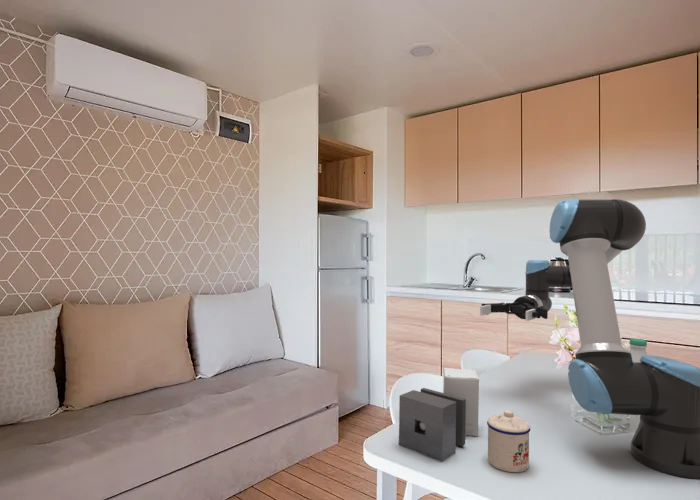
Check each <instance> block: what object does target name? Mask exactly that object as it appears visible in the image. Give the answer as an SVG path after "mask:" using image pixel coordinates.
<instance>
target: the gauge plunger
mask: <svg viewBox="0 0 700 500" xmlns="http://www.w3.org/2000/svg"><path fill="white" fill-rule="evenodd" d="M420 392H423V393H426V394H430V395H433V396H437V397H441V398H444V399H448V400H452V401H455V402H456V445H457V446H460V447H463V446H465V445H466V435H465V421H466V399H464V398H460V397H456V396H453V395H449V394H445V393H443V392H441V391H436V390H433V389H429V388H426V387H422V388H420ZM419 426H420V428H421V429H422V430H426V423H425V422H422V421H421V422H420V424H419Z"/></svg>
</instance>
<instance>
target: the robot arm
mask: <svg viewBox="0 0 700 500" xmlns="http://www.w3.org/2000/svg"><path fill="white" fill-rule="evenodd" d="M646 230H647V221H646V219H645V216H644V213H643V211H641V210H640V208H639V207H637V206H636V205H635V204H633V203H632V202H630V201H627V200H623V199H579V198H575V199H563V200H560V201H559V202H557V204H556V205H555V207H554V209H553V211H552V214H551V218H550V222H549V231H548V232H549V238H550V240H551V242H552V243H555V244H559V248H560V252H561V253H562V254H563V255H565V256H566V257H567V258H568V259H567V261H568V265H550V261H549V260H545V259H544V260H543V259H537V260H536V259H529V260H527V261H526V266H525V272H524V274H525V295H523V296H519V297H517V298H516V299H515V300H514V301H513V302H496V303H493V302H492V303H481V306H479V308H480V309H479V316H488V315H490V314H493V313H504V314H508V315H514V316H516V317H517V318H518V319H521V320H525V321H526V322H527V321H528V322H529V321H532V320H534V319H541V318H542V319H544V320H547V319H548V315H549V313H548V312H549V311H551V308H552V307H553V306H552V305H553V302H552V299H551V297H550V293H549V292H550V288H564V289H565V288H569V289H570V288H572V293H573V294H572V295H573V301H574V308H575V314H576V320H577V322H576V323H577V328H578V334H579V342H580V343H579V344H580V347H579V349H577V351H576V352H575V354H574V355H575V356H574V357H575V359H573V360H571V361H570V363H569V364H568V372H567V378H568V383H569V387H570V390H571V393H572V395H573V398H574V399H575V401H576V402H577V403H578V405H579V406H580V407H581V408H582V409H583V410H585V411H586V412H591V413H599V414H602V415H603V414H604V415H611V414H612V415H632V416H639V422H638V425H637V427H636V430H635V432H634V435H633V437H632V440H631V442H630V443H631V444H630V454H631V456H632V457H633V459H635V460H636V461H638V462H640V463H641V464H643V465H645V466H646V467H649V468H652V469H654V470H657V471H659V472H661V473H666V474H669V475H673V476H676V477H682V478H688V479H689V478H690V479H700V368H699V367H698V366H696V365H693V364H691V363H687V362H685V361H681V360H677V359H672V358H670V357H669V358H668V357H663V356H657V355H652V354H651V355H650V354H647V355H642V356H641V359H640V361H641V362H640V363H637V362H633V361H632V356H631V352H630V350H629V349H627V348H625V347H624V346H623V343H622V339H621V333H620V332H621V331H620V326H619V322H618V317H617V311H616V305H615V300H614V294H613V288H612V282H611V276H610V272H609V271H610V270H609V267H608V264H609V263H610V262H611V261H613V260H614V259H615V258H616V257H617V256H619V255H620V254H621V253H622V252H623V251H628V250H630V249H633V247H635V246H636V245H638V243H639V242H640V241H642V239H643V237H644V235H645V232H646Z"/></svg>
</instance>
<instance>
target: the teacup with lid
mask: <svg viewBox="0 0 700 500" xmlns="http://www.w3.org/2000/svg"><path fill="white" fill-rule="evenodd" d="M486 424H487V461H488V462H489V464H490V465H491V466H493V467H494V468H495V469H498V470H501V471H504V472H508V473H522V472H524V471H527V470H528V469H529V466H530V464H529V463H530V458H529V457H530V432H531V427H530V424H529V423H528V422H527V421H526V420H525V419H523V418H521V417H518V416H517V415H514V412H513V411H512V410H510V409H505V410H504V411H503V413H500V414H496V415H492V416H490V417H489V418H488V419H487V422H486Z"/></svg>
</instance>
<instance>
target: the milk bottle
mask: <svg viewBox="0 0 700 500" xmlns="http://www.w3.org/2000/svg"><path fill="white" fill-rule="evenodd" d="M647 344H648V342H647V340H646V339H641V338H630V339H629V346H630V348H629V351H630V352H631V356H632V361H633V362H637V363H640V362H641V361H640V359H641V356H642V355H648V352H647Z"/></svg>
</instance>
